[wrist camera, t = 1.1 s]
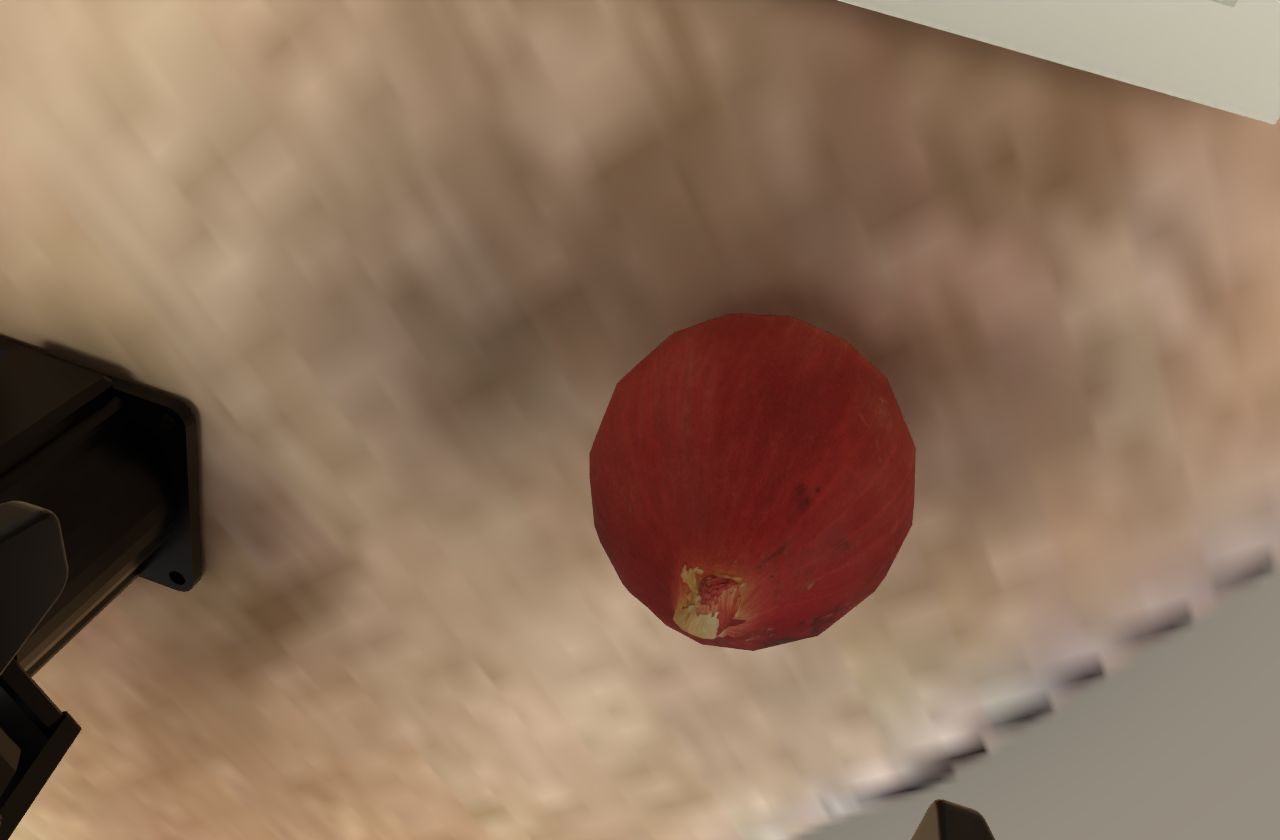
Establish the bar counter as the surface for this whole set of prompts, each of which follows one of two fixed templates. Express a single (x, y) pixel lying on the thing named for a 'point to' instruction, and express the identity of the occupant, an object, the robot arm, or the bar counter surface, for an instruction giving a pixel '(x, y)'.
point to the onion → (752, 480)
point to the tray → (1131, 42)
